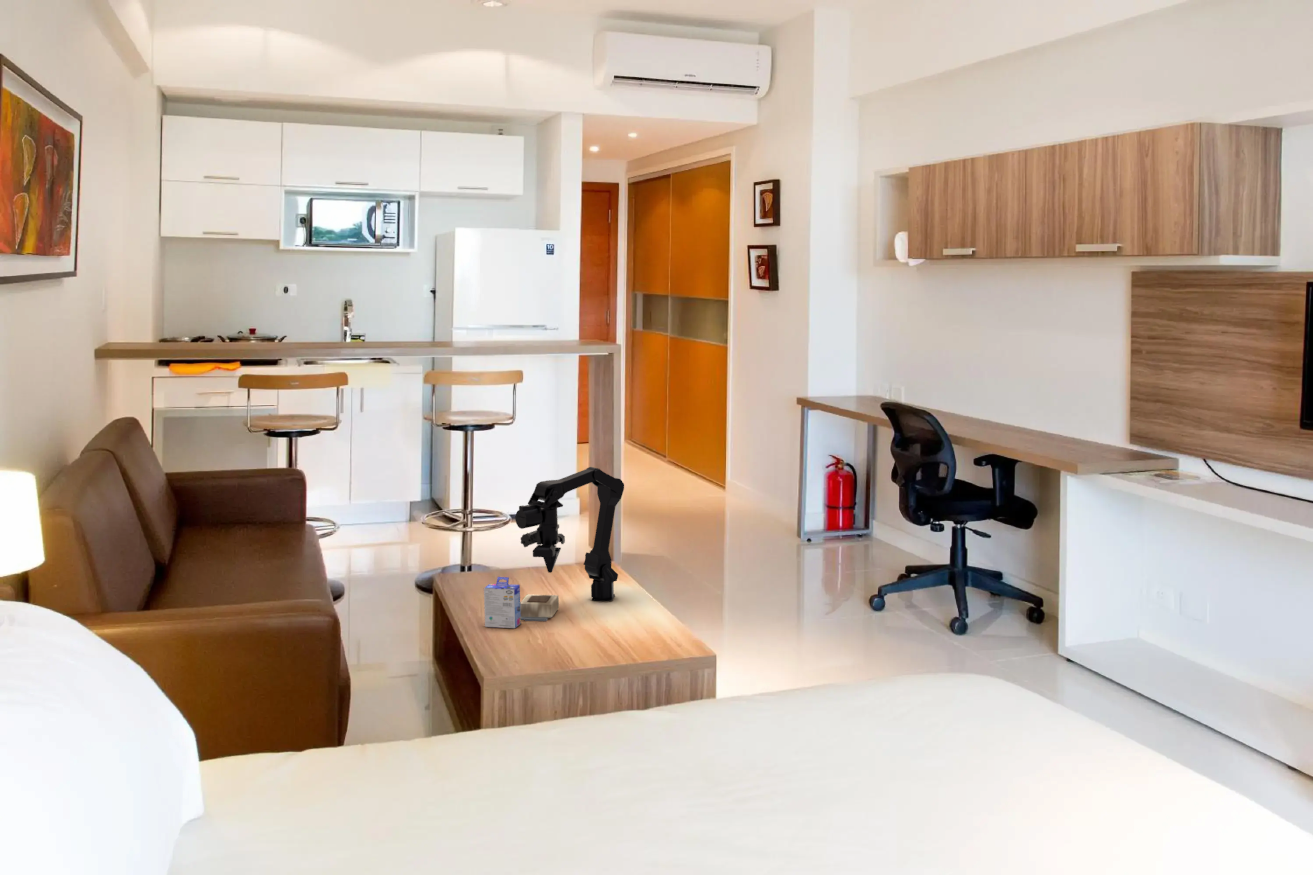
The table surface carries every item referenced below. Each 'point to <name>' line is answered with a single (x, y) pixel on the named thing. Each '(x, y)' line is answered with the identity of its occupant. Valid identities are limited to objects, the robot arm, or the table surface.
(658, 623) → the table surface
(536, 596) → the wooden block
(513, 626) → the ink cartridge box
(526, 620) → the mat
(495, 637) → the table surface
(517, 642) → the table surface
